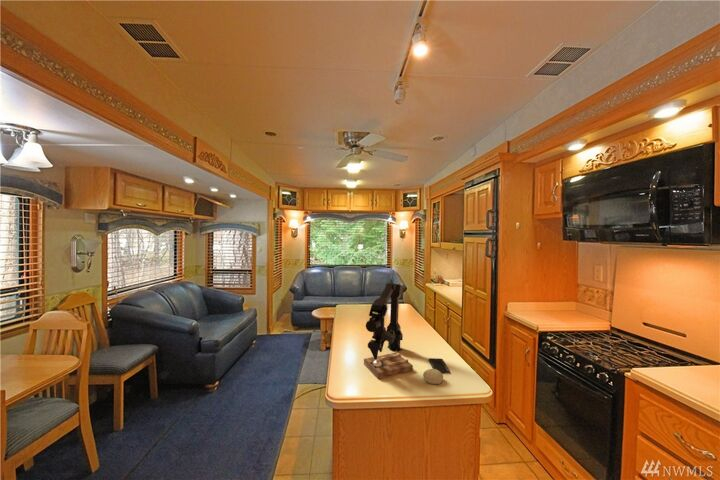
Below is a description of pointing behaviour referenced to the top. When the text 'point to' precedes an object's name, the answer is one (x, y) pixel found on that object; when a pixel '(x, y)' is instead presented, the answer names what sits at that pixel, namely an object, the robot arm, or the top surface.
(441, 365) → the phone
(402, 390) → the top surface
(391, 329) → the robot arm
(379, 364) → the steel ball
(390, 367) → the hole deck
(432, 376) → the sea urchin shell
